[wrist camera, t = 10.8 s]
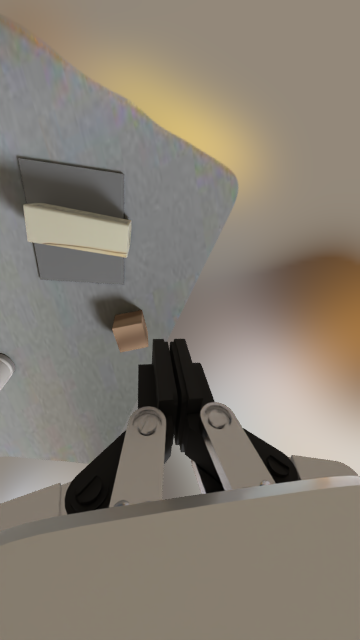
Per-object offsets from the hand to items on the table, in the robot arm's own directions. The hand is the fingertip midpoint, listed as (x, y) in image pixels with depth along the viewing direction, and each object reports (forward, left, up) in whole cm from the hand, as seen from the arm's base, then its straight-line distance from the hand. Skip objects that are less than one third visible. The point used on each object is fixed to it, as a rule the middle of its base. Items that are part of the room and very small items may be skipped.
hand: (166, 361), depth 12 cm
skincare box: (-2, -3, -25) cm, 25 cm away
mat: (-2, -11, -28) cm, 30 cm away
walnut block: (+14, -3, -28) cm, 32 cm away
